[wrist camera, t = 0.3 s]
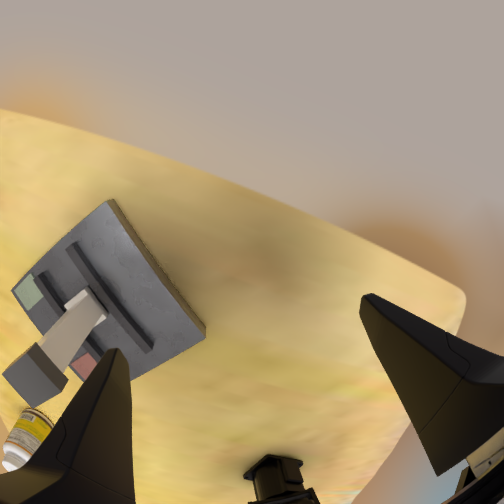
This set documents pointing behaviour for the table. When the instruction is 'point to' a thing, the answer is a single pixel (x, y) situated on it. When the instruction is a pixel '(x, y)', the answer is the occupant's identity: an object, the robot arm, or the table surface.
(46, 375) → the handle
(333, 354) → the table surface
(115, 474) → the robot arm
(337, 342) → the table surface
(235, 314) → the table surface
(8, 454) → the supplement bottle
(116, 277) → the box
